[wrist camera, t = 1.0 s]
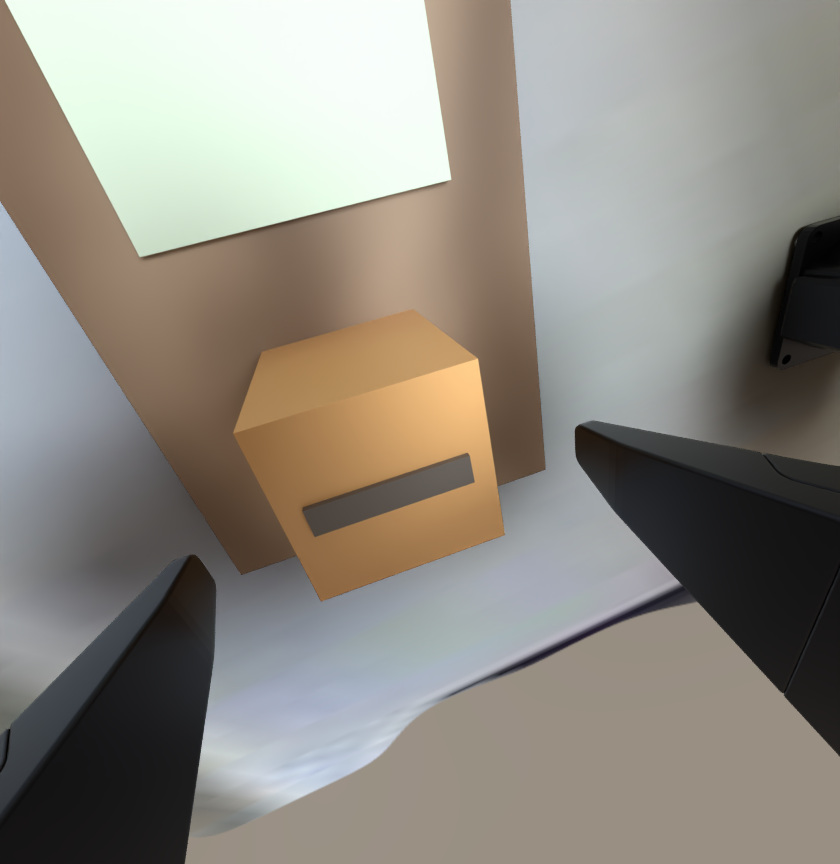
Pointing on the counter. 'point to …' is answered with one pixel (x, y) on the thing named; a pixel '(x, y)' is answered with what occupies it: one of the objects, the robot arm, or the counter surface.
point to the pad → (241, 106)
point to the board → (291, 273)
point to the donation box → (372, 449)
